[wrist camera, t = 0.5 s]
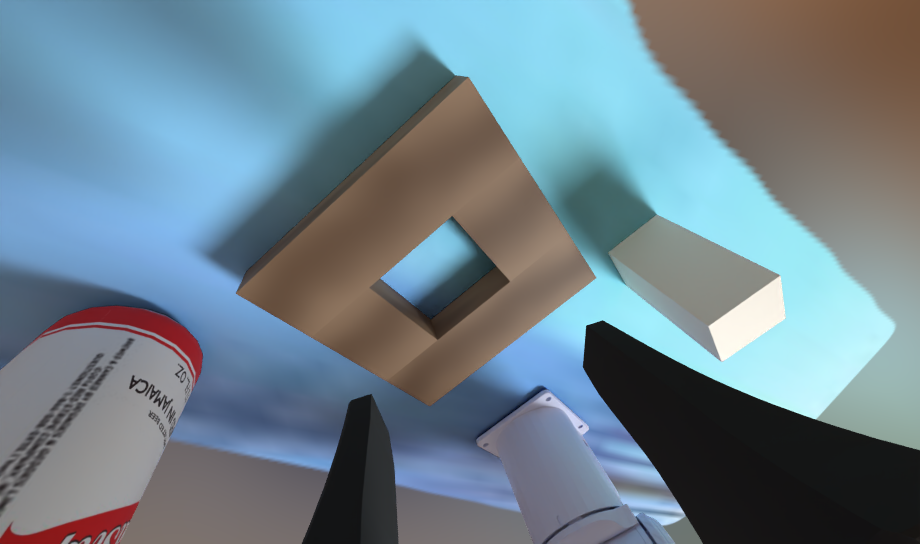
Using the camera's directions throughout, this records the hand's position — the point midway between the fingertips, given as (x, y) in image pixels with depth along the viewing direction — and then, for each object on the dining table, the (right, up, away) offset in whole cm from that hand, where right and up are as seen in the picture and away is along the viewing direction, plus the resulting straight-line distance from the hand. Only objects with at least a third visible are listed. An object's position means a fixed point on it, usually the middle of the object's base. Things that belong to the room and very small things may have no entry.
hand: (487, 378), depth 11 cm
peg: (+12, +5, +13) cm, 19 cm away
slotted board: (-2, +4, +9) cm, 10 cm away
